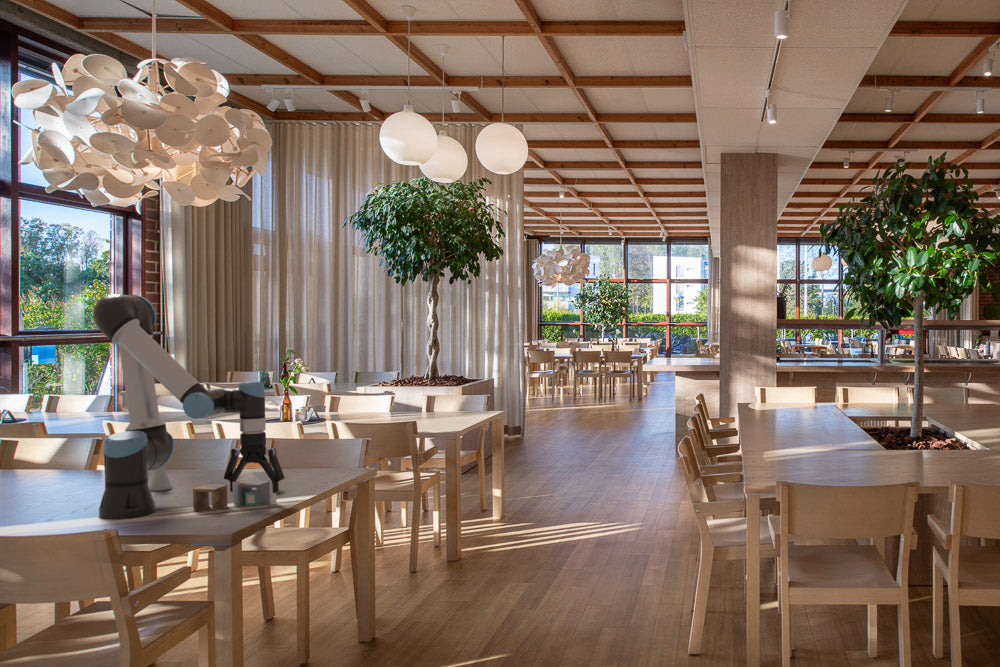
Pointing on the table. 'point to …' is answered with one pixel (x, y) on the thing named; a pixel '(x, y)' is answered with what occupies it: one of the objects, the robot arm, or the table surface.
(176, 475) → the table surface
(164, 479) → the flask
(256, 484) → the box
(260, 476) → the cup
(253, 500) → the letter cube
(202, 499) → the cover walnut
